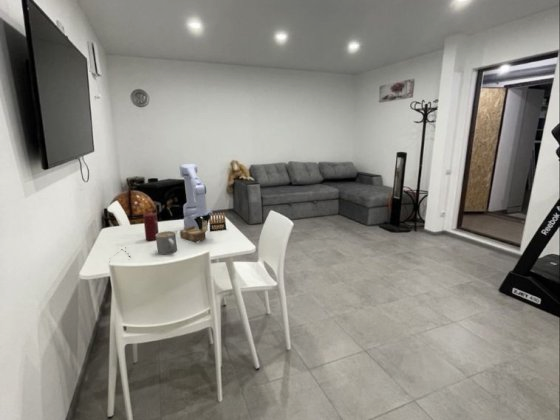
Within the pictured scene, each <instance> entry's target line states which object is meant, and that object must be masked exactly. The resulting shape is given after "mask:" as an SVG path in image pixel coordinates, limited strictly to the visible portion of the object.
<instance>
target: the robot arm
mask: <svg viewBox="0 0 560 420" xmlns="http://www.w3.org/2000/svg"><path fill="white" fill-rule="evenodd" d="M179 172H180V174H179V175H180V177H181V178H183V180H184V187H185V196H186V203H184V204H183V206H182V209H183V210H182V212H183V216H184V217H183V227H184V228H183V229H185V228H188V227H191V226H195V228H196V229H202V220H206V221H207V225H208V226H209V219H210V217H211V218H212V213H213V209H208V210H207V199H206V198H207V197H206V195H207V186H206V184H205V183H203V182H202V180H201V178H200V177H199V176H198V175H197V173H198V166H197V164H196V163H184V164H180V165H179ZM209 214H210V215H211V216H210V215H209Z"/></svg>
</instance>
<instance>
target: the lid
mask: <svg viewBox="0 0 560 420" xmlns="http://www.w3.org/2000/svg"><path fill="white" fill-rule="evenodd" d="M180 232H183V233H187V234H191V235H195V236H197V235H200V234H202V233H205V234H206V233H207V231H205V232H201V231H199V229H196V228H195V226H191V227H188V228H183V229H180V230H179V233H180Z"/></svg>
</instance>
